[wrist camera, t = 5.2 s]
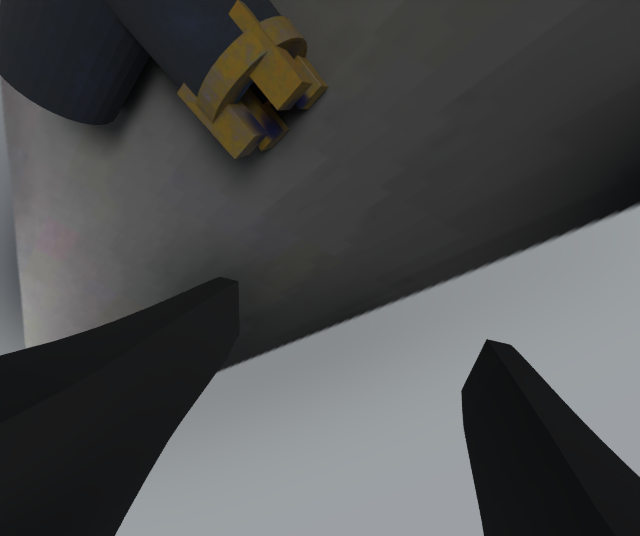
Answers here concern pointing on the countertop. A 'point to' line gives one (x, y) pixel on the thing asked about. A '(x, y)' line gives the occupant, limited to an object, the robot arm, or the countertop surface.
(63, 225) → the countertop surface
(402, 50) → the countertop surface
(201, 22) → the pipe connector
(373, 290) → the countertop surface
